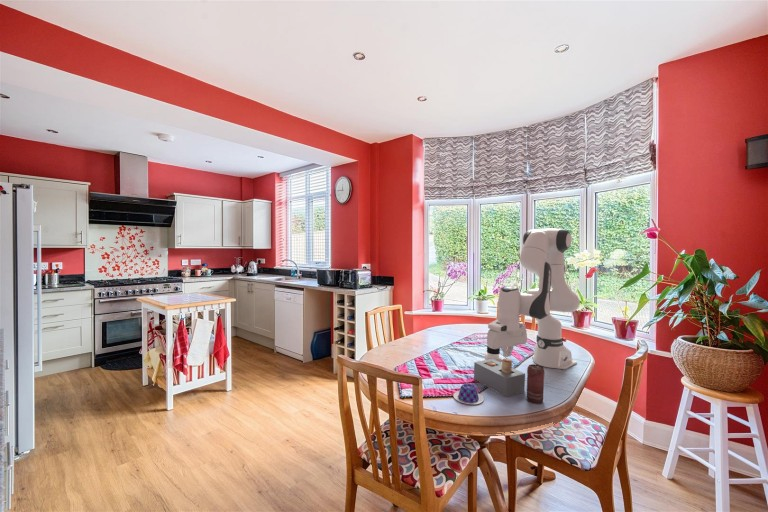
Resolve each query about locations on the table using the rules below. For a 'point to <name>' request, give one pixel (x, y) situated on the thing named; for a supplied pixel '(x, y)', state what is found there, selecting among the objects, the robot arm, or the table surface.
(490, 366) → the peg
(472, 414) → the table surface
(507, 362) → the peg
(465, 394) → the pudding
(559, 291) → the robot arm
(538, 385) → the can
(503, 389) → the block
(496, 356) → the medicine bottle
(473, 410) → the table surface
